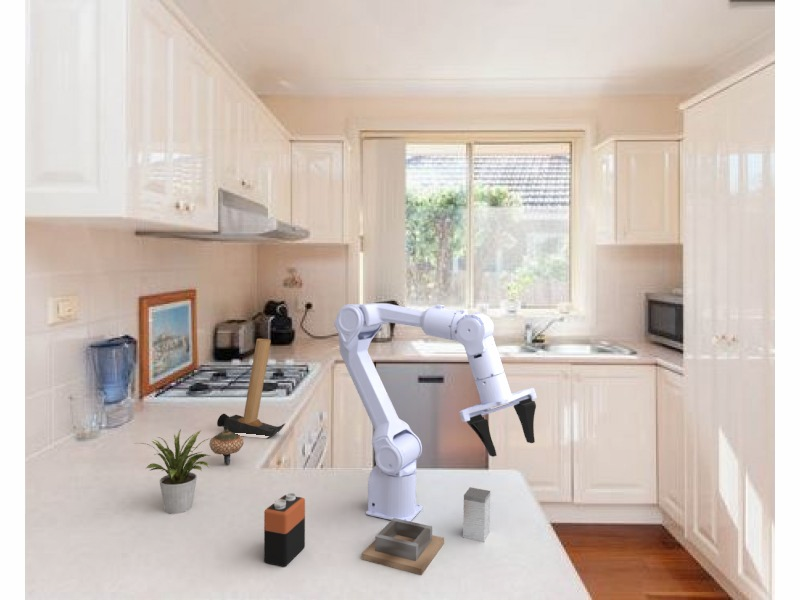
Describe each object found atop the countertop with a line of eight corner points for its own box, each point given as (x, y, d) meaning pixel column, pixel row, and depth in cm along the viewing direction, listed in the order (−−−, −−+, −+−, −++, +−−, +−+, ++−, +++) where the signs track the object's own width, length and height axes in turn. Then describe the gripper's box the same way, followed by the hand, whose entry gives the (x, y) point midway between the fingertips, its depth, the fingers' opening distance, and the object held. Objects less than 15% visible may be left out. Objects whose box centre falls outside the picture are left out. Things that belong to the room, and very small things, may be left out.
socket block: (361, 559, 86) (361, 539, 86) (389, 530, 96) (389, 512, 96) (421, 575, 82) (421, 553, 82) (444, 543, 92) (444, 524, 92)
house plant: (137, 534, 94) (136, 447, 93) (129, 505, 105) (128, 428, 105) (217, 515, 102) (216, 434, 101) (201, 490, 113) (201, 418, 113)
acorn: (206, 463, 130) (205, 424, 130) (238, 457, 135) (238, 420, 134) (213, 473, 123) (213, 432, 123) (247, 466, 128) (247, 427, 128)
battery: (262, 563, 85) (262, 504, 84) (284, 543, 91) (284, 488, 91) (285, 568, 83) (286, 508, 83) (305, 547, 90) (306, 492, 89)
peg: (463, 537, 94) (463, 495, 94) (469, 528, 98) (469, 487, 97) (484, 542, 92) (485, 499, 92) (489, 532, 96) (490, 490, 96)
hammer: (282, 441, 155) (298, 346, 152) (273, 447, 150) (291, 348, 147) (225, 424, 160) (240, 331, 157) (215, 428, 155) (231, 333, 152)
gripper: (459, 387, 88) (482, 464, 87) (533, 364, 91) (557, 438, 90) (448, 387, 95) (470, 459, 94) (518, 366, 98) (540, 434, 97)
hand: (512, 448), depth 92 cm, fingers open, 7 cm apart
